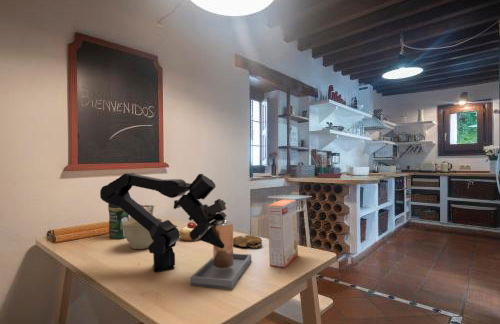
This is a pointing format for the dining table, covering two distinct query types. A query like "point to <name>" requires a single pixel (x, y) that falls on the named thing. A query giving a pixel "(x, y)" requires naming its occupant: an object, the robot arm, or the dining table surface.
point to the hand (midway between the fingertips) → (227, 244)
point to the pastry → (187, 232)
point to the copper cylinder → (225, 233)
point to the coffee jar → (116, 221)
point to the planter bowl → (137, 234)
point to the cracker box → (282, 232)
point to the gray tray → (221, 273)
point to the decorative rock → (248, 241)
